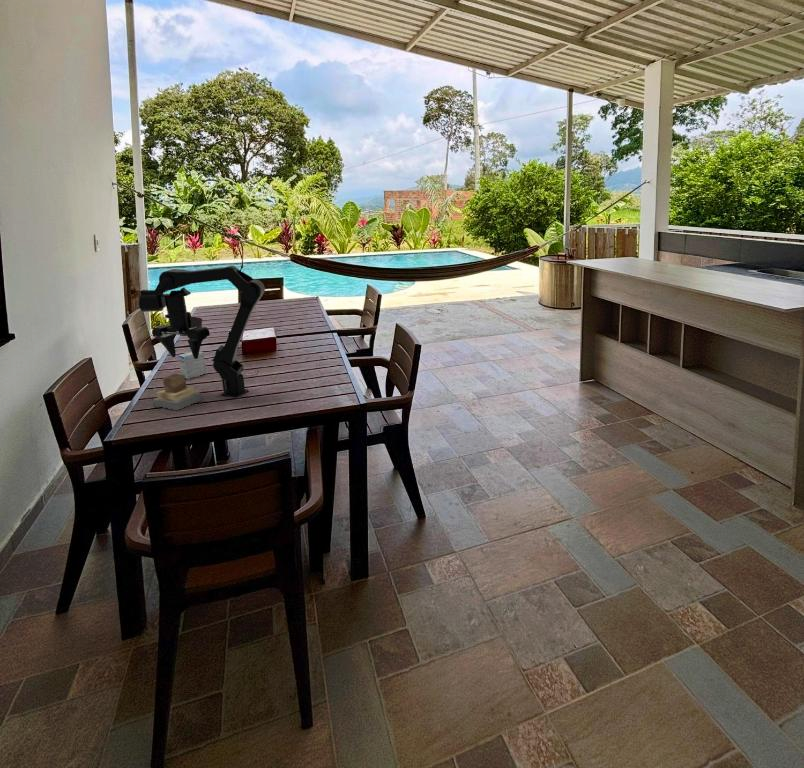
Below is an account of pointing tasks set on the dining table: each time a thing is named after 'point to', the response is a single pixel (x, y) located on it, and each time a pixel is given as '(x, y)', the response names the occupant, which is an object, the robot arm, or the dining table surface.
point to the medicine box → (192, 365)
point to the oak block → (176, 394)
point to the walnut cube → (174, 383)
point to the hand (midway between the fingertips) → (185, 357)
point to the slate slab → (178, 404)
